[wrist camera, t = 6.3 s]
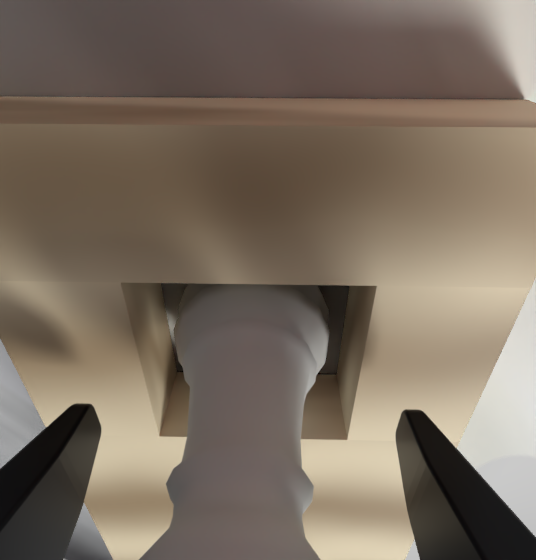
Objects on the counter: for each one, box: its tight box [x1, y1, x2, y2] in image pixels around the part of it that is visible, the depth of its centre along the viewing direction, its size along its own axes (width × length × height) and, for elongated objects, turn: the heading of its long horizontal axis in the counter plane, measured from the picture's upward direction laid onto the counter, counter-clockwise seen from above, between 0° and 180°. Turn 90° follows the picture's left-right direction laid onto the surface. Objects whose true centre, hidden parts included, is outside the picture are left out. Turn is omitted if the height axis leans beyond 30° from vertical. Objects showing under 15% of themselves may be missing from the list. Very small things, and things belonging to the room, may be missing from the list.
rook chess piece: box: [139, 283, 330, 560], centre depth 9 cm, size 4×4×8 cm
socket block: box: [0, 96, 536, 560], centre depth 13 cm, size 18×12×2 cm, turn 0°
